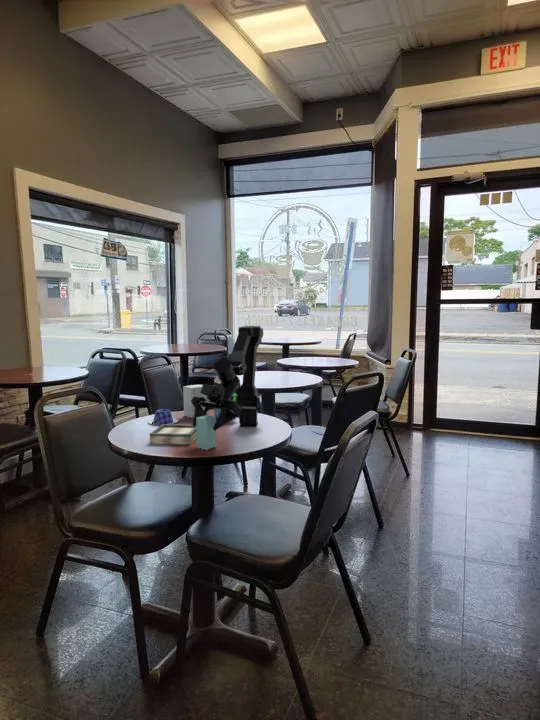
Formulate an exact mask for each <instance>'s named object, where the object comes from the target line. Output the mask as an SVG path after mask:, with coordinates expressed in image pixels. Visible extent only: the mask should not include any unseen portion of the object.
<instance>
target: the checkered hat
mask: <svg viewBox="0 0 540 720" xmlns="http://www.w3.org/2000/svg"><path fill="white" fill-rule="evenodd" d="M173 420H174V421H175V422H173ZM152 422H153V424H152ZM178 422H179V419H178V418H173V414H172V411H171V409H167V408H162V409H157V410H155V413H154V416H153V419H150V420H148V422H147V423H148V424H149V425H154V426H161V425H162V424H175V423H176V424H177V423H178Z"/></svg>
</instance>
